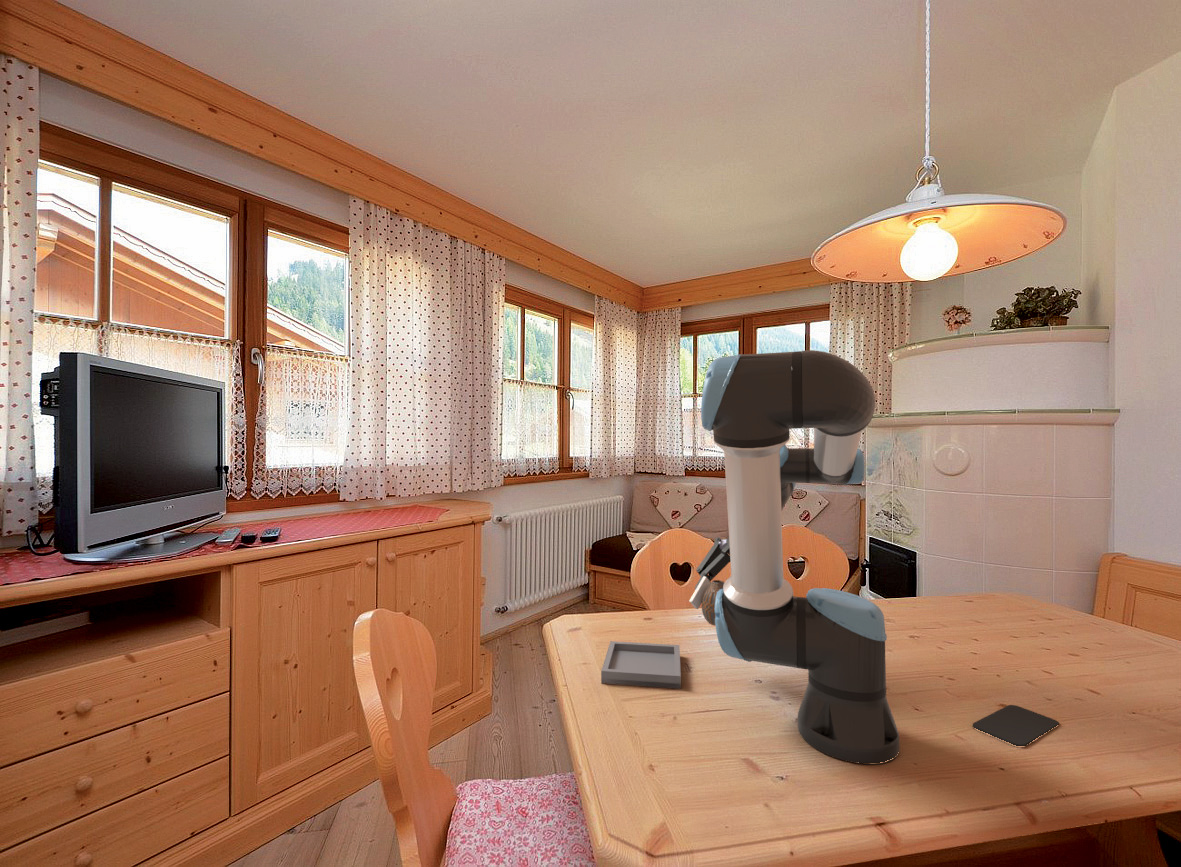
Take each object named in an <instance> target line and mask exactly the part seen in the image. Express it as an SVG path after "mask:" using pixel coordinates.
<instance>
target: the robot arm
mask: <svg viewBox="0 0 1181 867" xmlns="http://www.w3.org/2000/svg"><path fill="white" fill-rule="evenodd" d="M700 406H701V407H700V420H701V425H702V428H703V429H704V430H706V431H707V432H711V431H712V432H713V442H714V444H715V445H716V446H718V447H719V448H720V449H721V450H722V451H723V453H724V454H723V456H724V470H725V472H724V474H725V486H726V487H725V488H726V507H727V509H726V510H727V523H728V537H727V538H726V539H722V538H720V537H719V536H718V537H715V540H714V542H713V545H712V546H711V548H710V549H709V551H708V552H707V554H705V556H704V558H703V559H702V560H701V562H700V564H699V565H698V566H697V567H696V572H697V574H698V575H699V576H700V577H699V580H698V582H697V583H696V585H695V586H694V592H693V594H692V595H691V597H690V599H689V600H688V601H689V604H691V605H692V607H693V608H694V609H696V610H699V608H700V607H701V606H702V598H703V595H704V593H705V592H706V590H707V589H708V588H709V587H710V585H711V583H712V581H713V580H714V578H715V577H717V575H719V573H720V572H722V570H723V569H724V568H725V567H726V566H727V565H728V564H729V563H730V576H729V577H728V578H727V579H726V580H725V581H724V585H723V589H720V590H719V591H718V592H717V594H716V599H715V625H716V626H715V631H716V636H717V640H718V643H719V647H720V648H721V650H722V651H723V653H724V654H726V656H729V657H731V658H734V659H739V660H742V661H746V662H747V663H748V662H749V663H750V662H757V663H763V664H769V665H776V666H782V667H789V668H795V669H802V670H807V674H808V677H807V678H808V679H807V680H808V681H807V687H806V689H805V692H804V695H803V697H802V700H801V703H800V706H799V709H798V712H797V730H798V733H799V736H801V738H802V739H803V740H804V741H805V742H806V743H807V744H808V745H810V746H812V747H813V748H814V749H816V750H818V751H820V752H821V753H823V754H825V755H827V756H829V757H832V756H833V757H832V758H835V759H838V758H839V759H838V760H841V759H842V760H841V761H845V760H847V761H846V762H849V761H852V762H851V763H853V762H859V763H858V764H860V763H880V762H885V761H887V760H890V759H892V758H894V757H895V756H896V755H897V754H898V752H899V753H900V751H899V749H901V748H900V733H899V730H898V727H897V723H896V721H895V719H894V716H893V713H892V710H891V708H890V704H889V702H888V698H887V670H886V668H887V667H886V663H887V662H886V641H887V640H888V636H887V633H886V626H885V624H886V622H885V616H884V613H883V611H882V609H881V608H880V606H878V605H877V604H875V603H874V602H872V601H871V600H869V599H867V598H864V597H863V596H861V595H857V594H855V593H854V594H853V593H850V592H847V591H843V590H838V589H835V588H834V589H833V588H826V587H824V588H823V587H822V588H820V587H814V588H810V589H809V590H808V591H807V593H806V594H805V596H806V597H802V596H794V588H793V586H792V584H791V583H790V582H789V581H788V580H787V579H785V578H784V560H783V559H784V558H783V555H784V552H783V550H784V549H783V522H782V521H783V518H782V517H783V516H782V513H783V512H782V511H783V510H784V508H785V506H786V504H787V503H788V501H789V499H790V497H791V496H792V494H793V493H794V490H795V487H796V485H797V484H822V485H823V484H824V485H828V484H829V485H842V486H847V485H859V484H861V483H863V481H864V479H865V457H864V452H863V450H862V449H860V448H859V444H860V440H861V437H862V433H863V431H864V430H865V429H866V428H867V427H868V426H869V424H870V423H871V421H872V419H873V416H874V415H875V414H874V413H875V408H876V396H875V392H874V389H873V387H872V384H871V383H870V381H869V380H868V378H867V377H866V376H865V375H864V373H863V372H862V371H861V370H860V369H859V368H857V366H855V365H854V364H852V363H851V362H850V361H848V360H846V359H844V358H842V357H840V356H839V355H836V354H833V353H829V352H826V351H823V350H820V351H819V350H813V349H810V350H807V349H806V350H800V351H784V352H783V351H782V352H766V353H748V354H747V353H746V354H743V353H742V354H741V353H740V354H737V355H729V356H722V357H718V358H715V359H714V360H712V361H711V362H710V364H709V365H708V367H707V370H706V374H705V377H704V381H703V387H702V394H701V405H700ZM791 429H794V430H795V429H813V448H809V447H808V448H806V447H805V448H802V447H801V448H800V447H799V448H798V447H797V448H795V447H794V448H793V447H792V448H790V447H787V445H786V444H787V443H788V442H789V441H790V430H791ZM898 755H899V754H898Z"/></svg>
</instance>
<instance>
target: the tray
mask: <svg viewBox="0 0 1181 867" xmlns="http://www.w3.org/2000/svg"><path fill="white" fill-rule="evenodd" d="M680 647H681V646H680V644H670V643H669V644H668V643H667V644H666V643H665V644H664V643H650V642H648V643H647V642H631V641H616V640H614V641H612V640H610V642H609V645H608V648H607V650H606V651H607V652H606V654H605V657H604V661H603V664H602V667H601V672H600V675H601V680H600V681H601V682H600V683H601V684H604V683H607V684H608V685H617V686H618V685H621V686H632V687H633V686H635V687H636V686H637V687H650V688H663V689H664V688H666V689H667V688H668V689H675V690H676V689H678V690H679V689H680V690H681V688H682V686H681V684H682V682H681V681H682V679H681V678H682V675H681V674H682V672H681V653H680V652H681V651H680V650H681V649H680ZM607 684H606V685H607Z"/></svg>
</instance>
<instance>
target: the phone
mask: <svg viewBox="0 0 1181 867" xmlns="http://www.w3.org/2000/svg"><path fill="white" fill-rule="evenodd" d="M1057 725H1059V726H1060V722H1059V721H1058V720H1056V719H1054V718H1051V717H1049V716H1046V715H1044V714H1043V715H1042V714H1040V713H1038V712H1035V711H1032V710H1029V709H1027V708H1024V707H1021V706H1019V705H1015V704H1009V705H1005V707H1002V708H1000V709H998V710H996V711H994V712H992V713H990V714H989V715H986V716H984V717H982V718H981V719H979V720H977V721H975V722H973V723H972V728H973V727H974V728H976V729H978V730H980V731H983V732H985V733H988V734H990V735H992V736H994V737H997V738H999V739H1001V740H1004V741H1006V742H1009V743H1011V744H1013V745H1016V746H1026V745H1027V744H1029V743H1030V742H1032V741H1033V740H1035V739H1036V738H1038V737H1039V736H1041V735H1043V734H1044V733H1046V732H1048V731H1049V730H1051V729H1052V728H1054V727H1056V726H1057ZM974 728H973V729H974Z"/></svg>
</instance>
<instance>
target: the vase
mask: <svg viewBox="0 0 1181 867" xmlns="http://www.w3.org/2000/svg"><path fill="white" fill-rule="evenodd" d="M724 583H725V581H724V580H719V579H712V580H711V585H710V587H709V588H708V589H707V590H706V592H705V593H704V595H703V598H702V603H701V612H702V615H703V617H704V620H706V621H707V623H708V624H709V625H711V626H715V627H716V625H715V599H716V594H717V592H718V591H719V590H720V589H723V585H724Z"/></svg>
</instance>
